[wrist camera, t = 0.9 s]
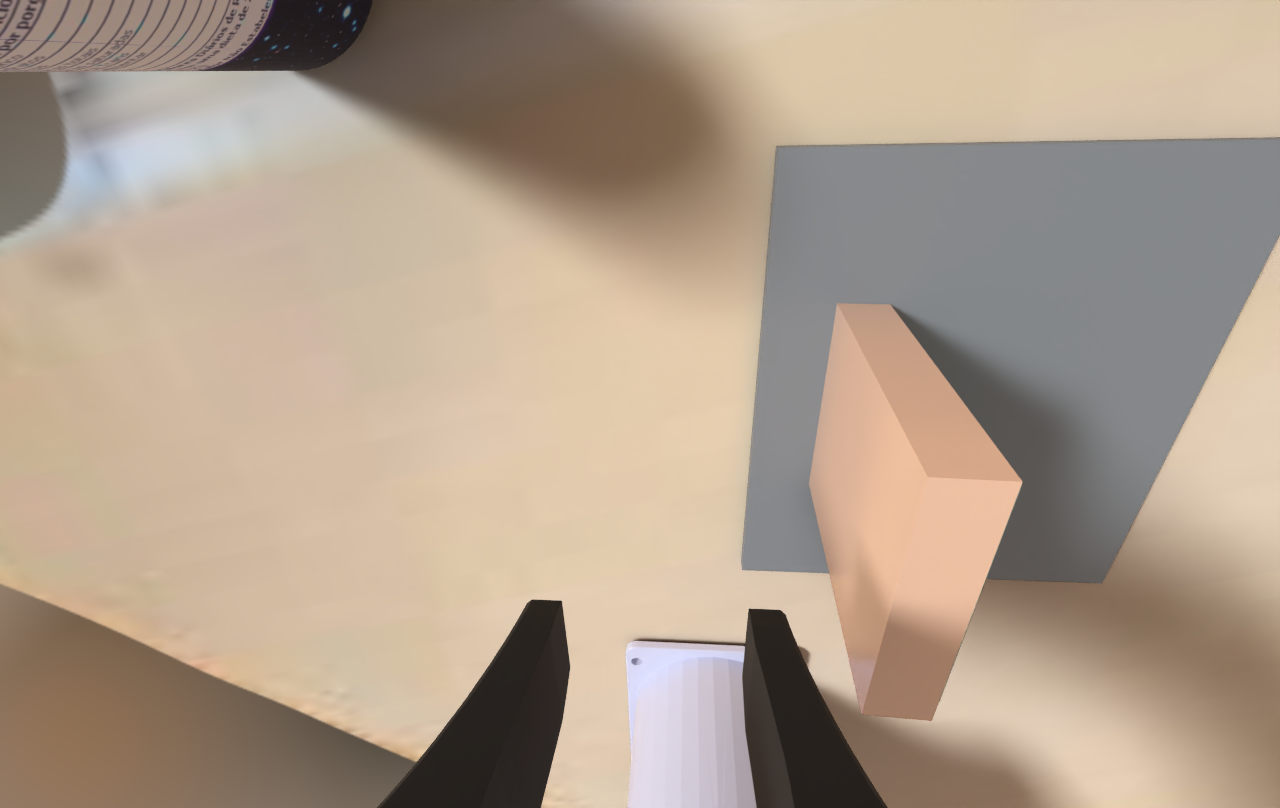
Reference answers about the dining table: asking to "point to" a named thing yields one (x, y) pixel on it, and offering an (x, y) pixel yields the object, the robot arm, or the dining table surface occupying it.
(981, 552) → the tile
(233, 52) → the beverage can
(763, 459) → the slate pad
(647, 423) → the dining table surface
